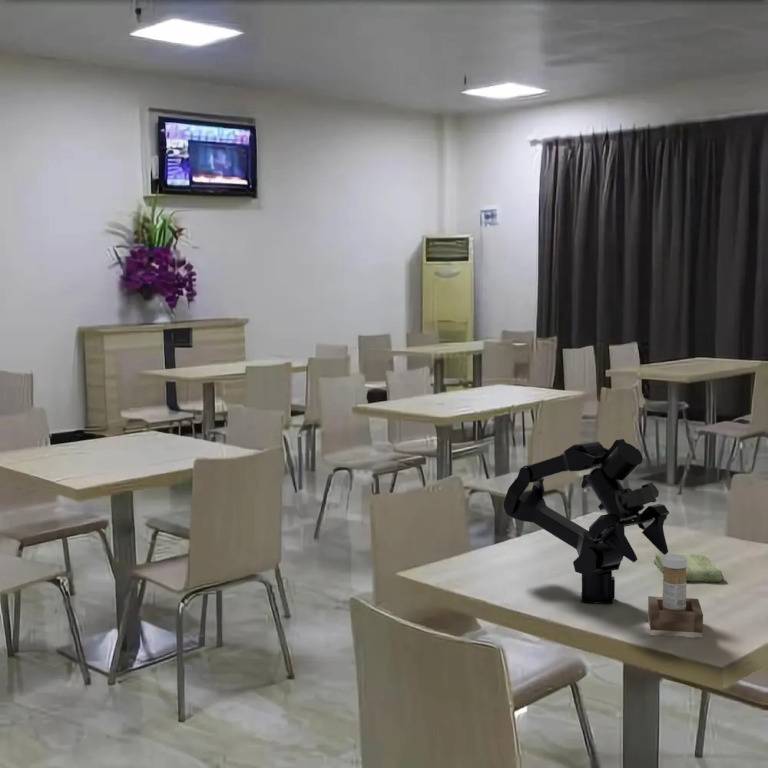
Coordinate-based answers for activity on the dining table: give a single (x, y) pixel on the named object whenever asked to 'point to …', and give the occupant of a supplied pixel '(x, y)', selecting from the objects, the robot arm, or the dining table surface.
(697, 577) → the washcloth
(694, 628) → the socket block
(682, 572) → the sprinkles bottle
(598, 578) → the robot arm
